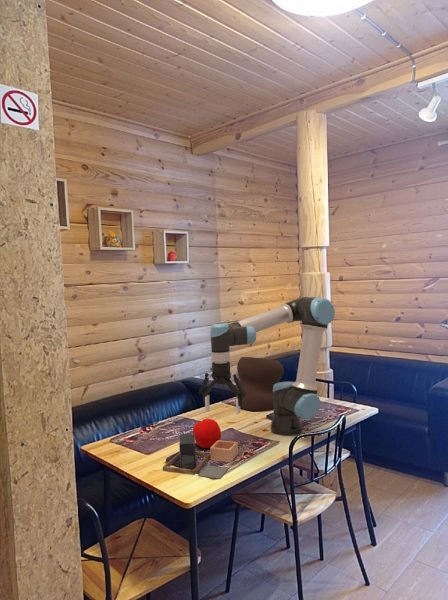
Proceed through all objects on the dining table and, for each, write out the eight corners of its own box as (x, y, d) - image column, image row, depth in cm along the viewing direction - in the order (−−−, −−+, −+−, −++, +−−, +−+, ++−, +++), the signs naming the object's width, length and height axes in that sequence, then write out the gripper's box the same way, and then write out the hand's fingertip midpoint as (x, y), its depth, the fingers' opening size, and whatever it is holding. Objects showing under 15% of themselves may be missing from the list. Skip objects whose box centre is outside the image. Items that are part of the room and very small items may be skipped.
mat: (228, 468, 172) (228, 467, 172) (220, 479, 164) (220, 478, 164) (207, 466, 175) (207, 465, 175) (197, 476, 167) (197, 475, 167)
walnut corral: (211, 456, 185) (211, 453, 185) (194, 474, 168) (194, 471, 168) (182, 453, 189) (182, 449, 189) (162, 470, 173) (162, 466, 173)
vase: (287, 411, 241) (285, 356, 240) (238, 412, 242) (236, 358, 240) (281, 397, 268) (280, 348, 266) (237, 399, 268) (235, 350, 267)
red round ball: (216, 456, 192) (206, 446, 204) (230, 430, 194) (219, 421, 206) (192, 445, 188) (183, 435, 200) (206, 417, 190) (197, 410, 202)
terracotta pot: (238, 453, 187) (237, 442, 186) (231, 462, 178) (230, 450, 178) (218, 451, 190) (217, 440, 189) (210, 459, 181) (210, 447, 181)
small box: (180, 458, 184) (179, 434, 183) (196, 457, 184) (194, 432, 184) (179, 469, 173) (178, 443, 173) (196, 468, 174) (195, 442, 173)
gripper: (252, 360, 181) (254, 411, 182) (196, 358, 190) (198, 407, 191) (247, 364, 174) (248, 417, 175) (189, 362, 183) (191, 412, 184)
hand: (222, 412), depth 183 cm, fingers open, 13 cm apart
